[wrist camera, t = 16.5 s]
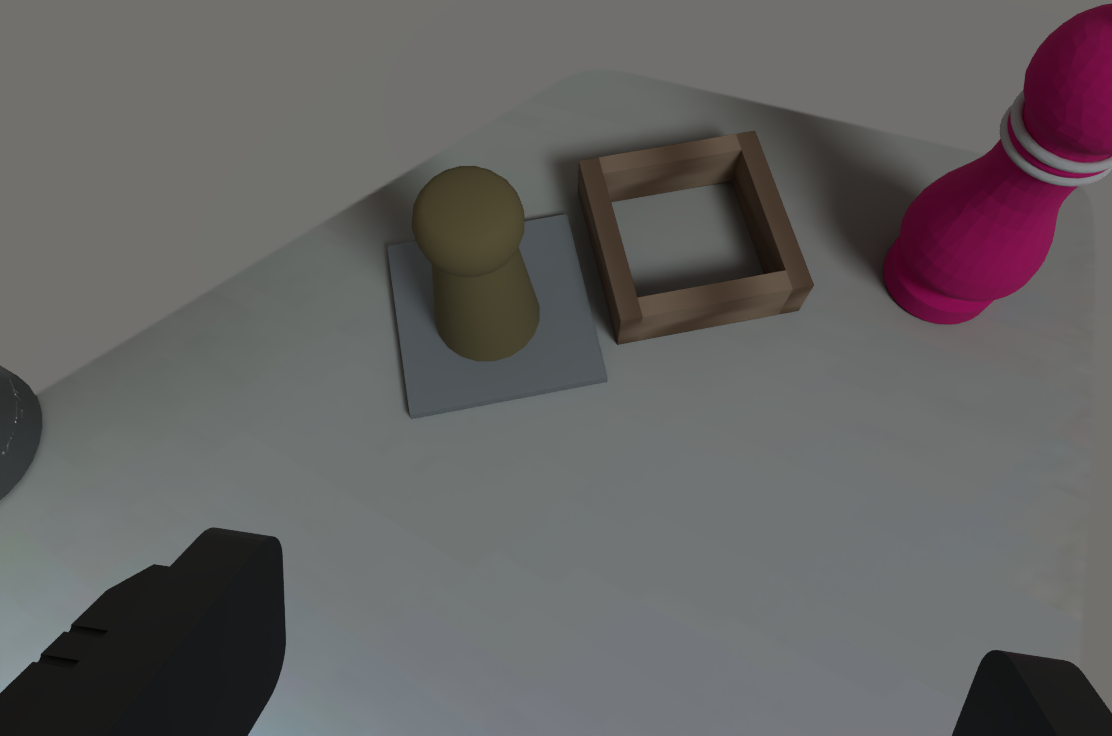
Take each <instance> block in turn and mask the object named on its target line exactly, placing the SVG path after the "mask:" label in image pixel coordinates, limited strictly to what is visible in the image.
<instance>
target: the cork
mask: <svg viewBox="0 0 1112 736" xmlns="http://www.w3.org/2000/svg"><path fill="white" fill-rule="evenodd" d="M412 228H413V232H414V235H415V239H416V242H417V245H418V247H419V249H420V250H421V251H422V253H423V254H424V255H425V257H426V258H427V259H428V260H429V261H430V262H431V264H432V278H433V295H434V312H435V323H436V326H437V330H438V333H439V336H440V337H441V339H442V340H443V341H444V343H445V344H446V345H447V347H448V348H449V349H451V350H452V351H454V352H455V353H457V354H458V355H459V356H461V357H464V358H467V359H471V360H474V361H497V360H500V359H504V358H507V357H510V356H512V355H513V354H515V353H516V352H518V351H519V350H521V349H523V348H524V347H525V346H526V345H527V343H528V342H529V341H530V340H531V338H532V337H533V336H534V334H535V332H536V329H537V326H538V324H539V320H540V306H539V303H538V300H537V297H536V295H535V292H534V289H533V286H532V283H531V280H530V278H529V275H528V272H527V269H526V266H525V263H524V261H523V258H522V255H521V252H520V249H519V245H520V242H521V240H522V237H523V235H524V209H523V206H522V204H521V201H520V198H519V196H518V194H517V192H516V191H515V189H514V188H513V187H512V186H511V185H510V184H509V182H508V181H507V180H506V179H504V178H502V177H501V176H499V175H497V174H496V173H494V172H492V171H491V170H488V169H484V168H480V167H477V166H459V167H456V168H452V169H448V170H445V171H443V172H442V173H440V174H438V175H437V176H435V177H433V178H432V179H431V180H430V181H429V182H428V183H427V184H426V186H425V187H424V188H423V189H422V190H421V191H420V193H419V195H418V197H417V199H416V201H415V203H414V208H413V219H412Z"/></svg>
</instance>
